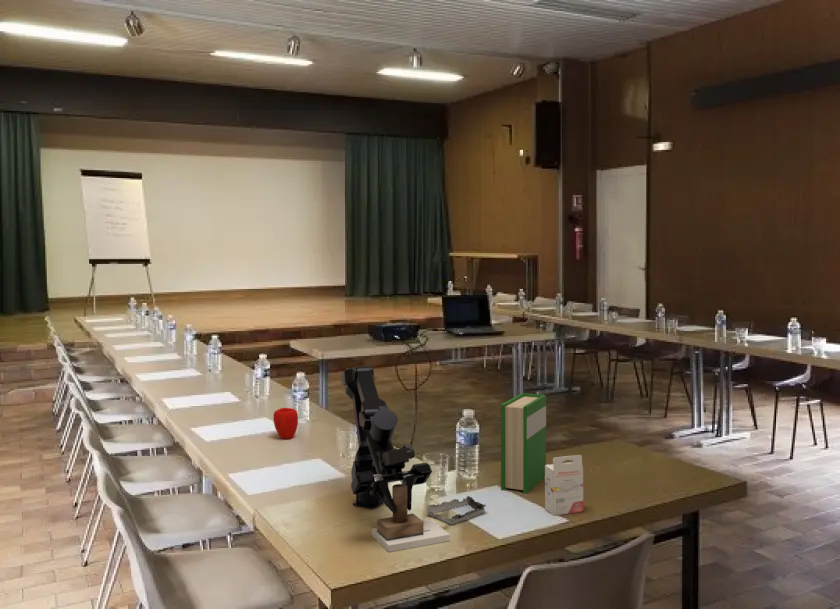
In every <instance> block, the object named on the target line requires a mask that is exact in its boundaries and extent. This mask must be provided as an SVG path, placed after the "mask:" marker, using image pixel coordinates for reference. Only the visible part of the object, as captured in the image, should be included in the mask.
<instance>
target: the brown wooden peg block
mask: <svg viewBox="0 0 840 609" xmlns="http://www.w3.org/2000/svg"><path fill="white" fill-rule="evenodd" d="M391 489H392V494H391V496H392V499H393V502H394V504H395V508H396V513H393V512H392V516H388V517H383V518H377V519H376V528H377V532H378V533H379V534H380V535H381V536H382V537H383V538H384V539H385V540H386V541H390V540H396V539H401V538H407V537H413V536H418V535H423V521H422V520H423V519H421V518H419V517H418V516H417V515H416V514H414V513H408V509H407V485H404V484H401V483H397V484H394V485H392V488H391Z"/></svg>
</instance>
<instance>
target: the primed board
mask: <svg viewBox="0 0 840 609" xmlns="http://www.w3.org/2000/svg"><path fill="white" fill-rule="evenodd" d="M421 520H422V521H423V535H418V536H413V537H407V538H401V539H396V540H390V541H386V540H385V539H384V538H383V537H382V536H381V535H380V534H379V533H378V532H377V527H374V528H371V536H372V537H373V538H374V539H375V541H376V542H378V543H379V544H380V545H381V546H382V547H383V548H384V549H385V550H386V551H387V552H388V553H390V552H396V551H402V550H407V549H408V550H409V549H414V548H418V547H419V548H420V547H424V546H429V545H435V544H441V543H446V542H450V540H451V534H450V533H448V531H446V530H445V529H443V528H442V527H441V526H440V525H438V524H437V523H436V522H434V521H433V520H432V519H431V518H429V519H421Z"/></svg>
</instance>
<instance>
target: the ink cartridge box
mask: <svg viewBox="0 0 840 609" xmlns="http://www.w3.org/2000/svg"><path fill="white" fill-rule="evenodd" d="M567 460H569V461H571V462H566V461H567ZM544 495H545V496H544V499H545V500H544V501H545V503H544V507H545V508H544V509H545V510H546V511H547V512H548V513H550V514H551V515H552V516H561V515H568V514H573V513H582V512H584V466H583V456H582V454H577V455H566V456H564V455H563V456H558V457H555V456H554V457H553V458H552V464H551V463H550V464H546V465H545V478H544Z"/></svg>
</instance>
